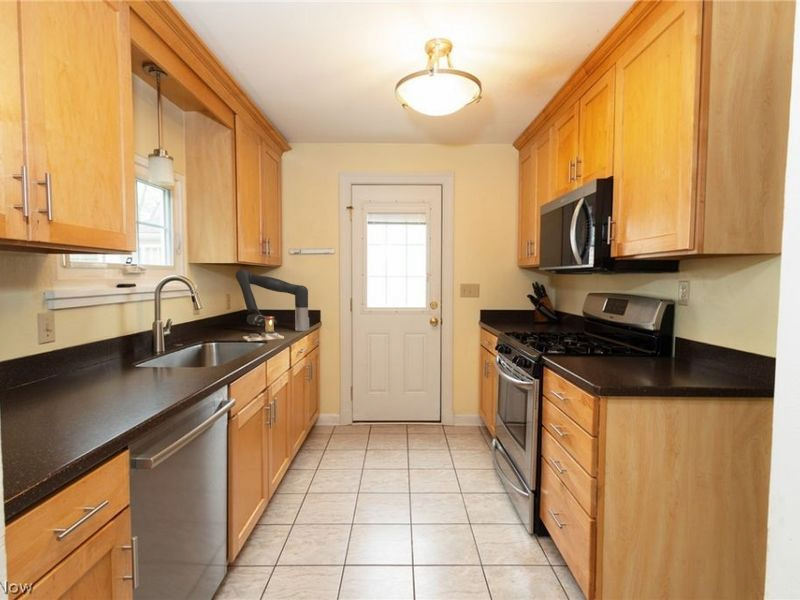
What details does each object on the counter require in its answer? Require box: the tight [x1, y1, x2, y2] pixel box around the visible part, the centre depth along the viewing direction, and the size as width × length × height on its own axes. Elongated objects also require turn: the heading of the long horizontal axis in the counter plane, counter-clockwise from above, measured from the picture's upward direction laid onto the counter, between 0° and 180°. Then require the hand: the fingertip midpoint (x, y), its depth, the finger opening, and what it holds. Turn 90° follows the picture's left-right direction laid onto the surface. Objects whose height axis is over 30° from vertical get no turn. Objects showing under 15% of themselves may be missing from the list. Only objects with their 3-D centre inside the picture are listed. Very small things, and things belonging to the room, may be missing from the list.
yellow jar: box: [264, 316, 275, 334], centre depth 256 cm, size 6×6×12 cm
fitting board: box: [242, 331, 285, 342], centre depth 254 cm, size 22×13×3 cm, turn 124°
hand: (268, 323), depth 259 cm, fingers open, 8 cm apart
